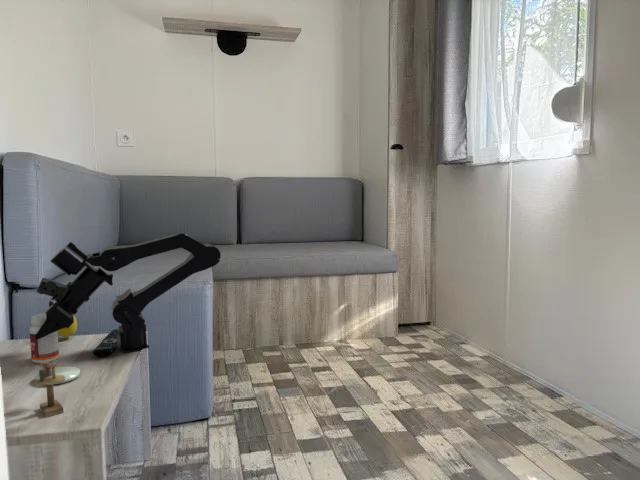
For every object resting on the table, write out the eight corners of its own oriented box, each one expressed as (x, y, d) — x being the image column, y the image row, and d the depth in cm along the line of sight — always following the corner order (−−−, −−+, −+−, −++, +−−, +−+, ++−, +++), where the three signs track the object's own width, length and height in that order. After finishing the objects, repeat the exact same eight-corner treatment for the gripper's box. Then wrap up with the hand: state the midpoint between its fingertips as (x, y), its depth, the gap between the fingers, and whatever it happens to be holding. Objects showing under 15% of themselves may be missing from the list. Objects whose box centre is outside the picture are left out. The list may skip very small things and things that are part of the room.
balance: (34, 403, 104) (30, 353, 103) (54, 398, 107) (50, 349, 105) (48, 423, 96) (45, 368, 95) (69, 417, 98) (66, 364, 97)
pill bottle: (29, 358, 131) (26, 315, 130) (56, 353, 134) (53, 311, 133) (33, 365, 126) (30, 320, 125) (61, 360, 130) (58, 316, 128)
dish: (73, 368, 124) (73, 363, 124) (85, 379, 117) (85, 374, 117) (31, 377, 118) (31, 373, 118) (41, 389, 111) (41, 384, 111)
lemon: (56, 342, 144) (54, 314, 143) (56, 337, 149) (54, 310, 148) (78, 339, 146) (76, 312, 145) (77, 334, 151) (75, 307, 150)
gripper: (59, 261, 138) (14, 306, 134) (54, 272, 121) (3, 324, 117) (93, 287, 142) (50, 332, 138) (93, 302, 125) (44, 353, 122)
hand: (37, 334), depth 129 cm, fingers closed on pill bottle, 6 cm apart
